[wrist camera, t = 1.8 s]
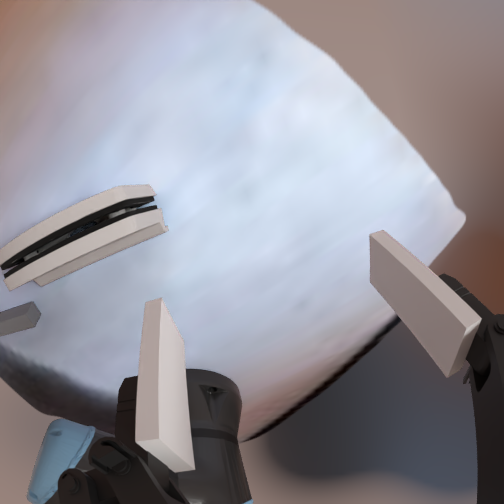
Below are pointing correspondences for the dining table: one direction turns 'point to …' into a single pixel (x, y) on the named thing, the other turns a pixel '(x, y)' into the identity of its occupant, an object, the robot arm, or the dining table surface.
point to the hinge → (82, 235)
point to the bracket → (19, 318)
